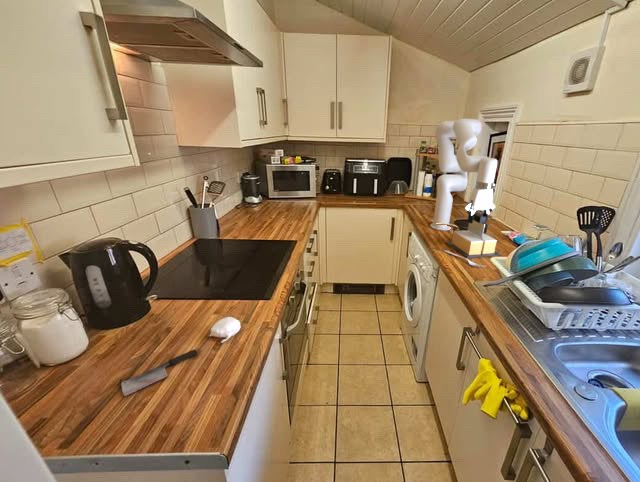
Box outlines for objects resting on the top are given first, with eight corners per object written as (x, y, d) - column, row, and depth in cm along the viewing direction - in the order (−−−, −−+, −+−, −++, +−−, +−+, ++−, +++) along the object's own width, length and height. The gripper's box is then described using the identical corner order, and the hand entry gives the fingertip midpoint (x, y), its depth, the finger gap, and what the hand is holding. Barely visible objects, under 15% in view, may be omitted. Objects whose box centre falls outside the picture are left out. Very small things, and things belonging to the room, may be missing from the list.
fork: (446, 249, 150) (446, 246, 149) (486, 269, 131) (487, 265, 130) (441, 250, 149) (442, 247, 148) (481, 270, 129) (482, 266, 129)
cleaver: (122, 395, 65) (119, 381, 68) (124, 398, 65) (121, 384, 69) (201, 358, 75) (195, 348, 78) (202, 361, 75) (195, 351, 79)
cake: (446, 243, 159) (448, 229, 156) (475, 241, 163) (478, 228, 160) (467, 258, 141) (469, 243, 138) (500, 255, 145) (503, 241, 142)
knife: (465, 230, 154) (468, 211, 150) (470, 230, 155) (473, 211, 151) (479, 238, 143) (483, 218, 139) (484, 238, 144) (488, 218, 140)
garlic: (221, 344, 82) (219, 333, 80) (205, 336, 85) (203, 325, 83) (245, 329, 88) (243, 318, 87) (229, 321, 91) (227, 311, 90)
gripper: (494, 184, 145) (487, 219, 152) (463, 184, 141) (457, 220, 148) (505, 187, 138) (497, 223, 145) (472, 187, 134) (465, 225, 141)
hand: (476, 222), depth 147 cm, fingers open, 7 cm apart
